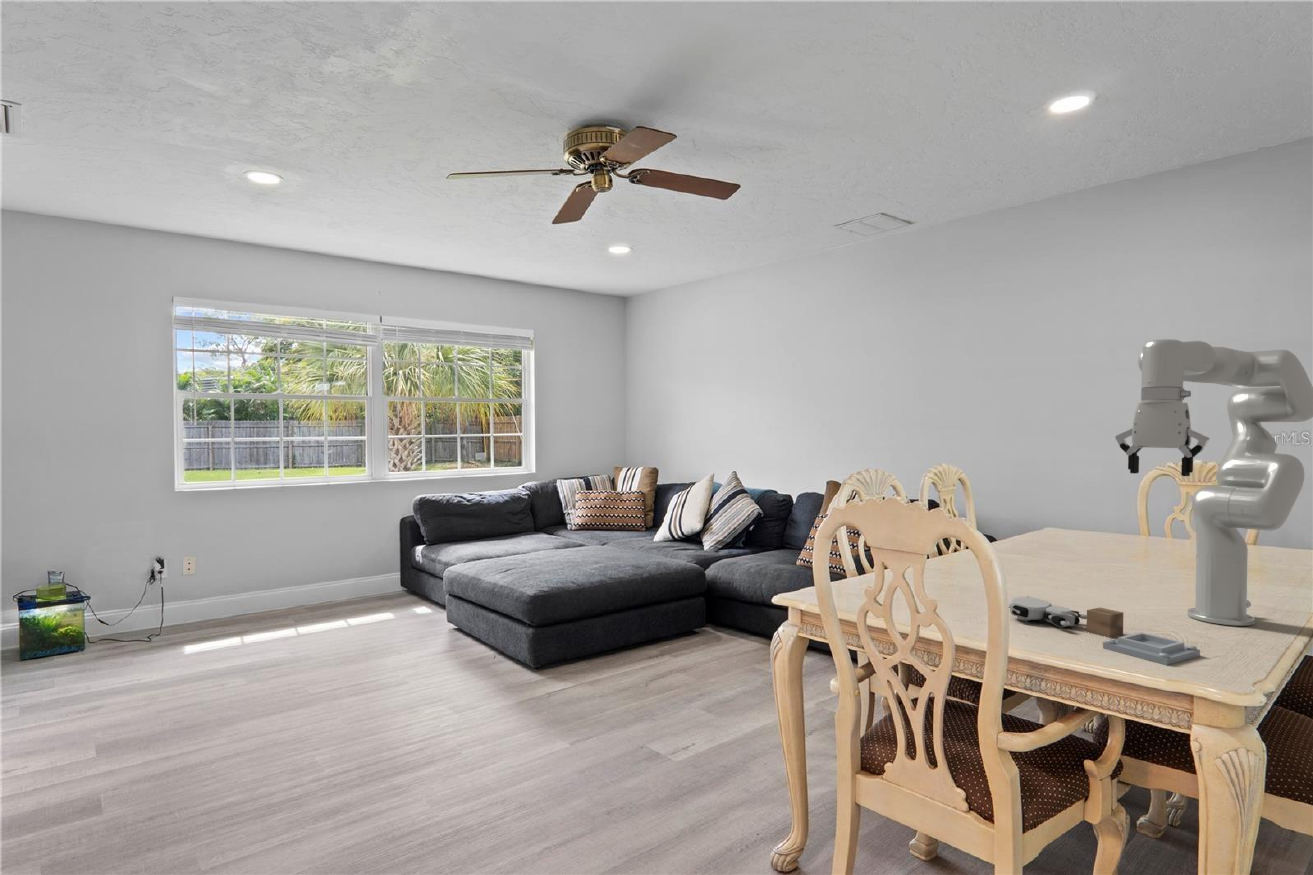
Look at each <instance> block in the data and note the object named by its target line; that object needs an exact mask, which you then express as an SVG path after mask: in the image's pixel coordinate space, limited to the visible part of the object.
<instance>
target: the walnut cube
mask: <svg viewBox="0 0 1313 875" xmlns="http://www.w3.org/2000/svg"><path fill="white" fill-rule="evenodd" d="M1086 615H1087V619H1086V633H1088V632H1089V633H1088V634H1092V635H1095V636H1101V637H1104V636H1105V637H1104V638H1107V639H1111V637H1112V638H1115V636H1116V637H1122V636H1124V612H1123V611H1122V612H1121V611H1118V610H1114V609H1110V608H1105V607H1095V608H1091V609H1087V610H1086Z"/></svg>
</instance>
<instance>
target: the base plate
mask: <svg viewBox="0 0 1313 875" xmlns="http://www.w3.org/2000/svg"><path fill="white" fill-rule="evenodd" d="M1102 648H1103V649H1106V650H1110V651H1113V652H1118V653H1121V654H1123V655H1127V656H1131V657H1136V658H1139V659H1143V660H1146V661H1149V662H1153V663H1157V664H1161V665H1165V666H1168V665H1172V664H1176V663H1179V662H1183V661H1187V660H1190V659H1191V660H1192V659H1194V658H1196V657H1200V656H1201V649H1199V648H1198V647H1197V646H1196V645H1190V644H1189V645H1188V644H1187V645H1186V646H1185V642H1184V641H1180V640H1175V639H1170V638H1167V637H1163V636H1159V635H1155V634H1150V633H1146V632H1141V631H1140V632H1134V633H1131V634H1127V635H1121V636H1117V638H1115V639H1111V638H1106V640H1105V641H1102Z"/></svg>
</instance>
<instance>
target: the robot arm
mask: <svg viewBox="0 0 1313 875" xmlns="http://www.w3.org/2000/svg"><path fill="white" fill-rule="evenodd" d="M1137 362H1138V367H1139V370H1140V371H1141V384H1140V386H1141V388H1140V389H1141V390H1140V391H1141V392H1140V402H1138V403H1136V404H1137V405H1136V408H1135V412H1134V417H1133V421H1132V422H1133V423H1132V424H1133V425H1132V428H1130V429H1129V430H1126V431H1124V432H1121V433H1119V434H1117V435H1115V440H1116V442H1117V444H1118V445H1119V448H1120V449H1121V450H1122V451H1123V452H1124V453H1125V454H1126V456H1127V457H1128V459H1127V460H1128V462H1127V469H1128V470H1129V473H1130V474H1139V472H1140V456H1139V455H1138V453H1139V452H1140V451H1141V450H1142V449H1143V448H1149V449H1151V448H1153V449H1156V448H1157V449H1178V450H1179V451H1180V452H1181V453H1182V455H1183V457H1181V472H1180V473H1181V474H1180V475H1181V476H1182V477H1190V476H1191V473H1193V471H1194V458H1195V457H1196V456H1197V455H1198V454H1199V453H1202V451H1203V450H1204V448H1205V447H1206V446H1207V444H1208V442H1209V441H1210V437H1209V436H1207V435H1204V434H1202V433H1200V432H1198V431H1196V430H1193V429H1192V427H1191V416H1190V408H1189V405H1188V402H1183V401H1185V398H1190V397H1191V395H1192V393H1191V392H1192V391H1191V390H1186V389H1185V388H1184V382H1189V383H1191V382H1192V383H1200V384H1201V383H1202V384H1217V385H1222V386H1229V387H1232V388H1233V387H1234V388H1241V389H1240V390H1239V389H1238V390H1236V391H1234V392H1233V393H1231V395H1230V396H1229V397H1228V400H1227V405H1226V407H1227V408H1226V409H1227V410H1226V411H1227V414H1228V420H1229V423H1230V428H1231V432H1232V440H1231V442H1230V445H1229V446H1228V448H1227V450H1226V452H1225V454H1224V456H1223V457H1222V459H1221V461H1220V463H1219V465H1218V467H1217V469H1216V470H1217V471H1216V473H1215V474H1216V476H1215V477H1216V478H1215V479H1216V482H1217V484H1213V485H1206V486H1203V487H1200V488H1198V489H1197V490H1196V491H1195V492H1194V493H1193V495H1192V499H1191V508H1192V514H1193V517H1194V524H1195V532H1196V536H1195V537H1196V545H1195V546H1196V551H1195V552H1196V553H1195V554H1196V556H1195V559H1196V560H1195V562H1196V563H1195V606H1194V607H1191V608H1189V609H1187V616H1188V617H1190V618H1191V619H1194V620H1198V621H1201V622H1206V623H1211V624H1217V625H1225V626H1236V627H1245V626H1253V625H1255V623H1256V618H1255V617H1254V616H1252V615H1249V614H1247V609H1249V608H1251V606H1252V603H1251V601H1250V600H1248V595H1247V594H1248V554H1249V552H1248V545H1247V542H1246V541H1245V538H1244V537H1243V535H1242V534H1241V533H1240V532H1239V530H1238V529H1248V530H1253V531H1254V530H1255V531H1268V532H1269V531H1276V530H1279V529H1281V527H1282V526H1283V525H1284V524H1285V523H1286V521H1287V519H1288V518H1289V516H1290V513H1291V511H1292V509H1293V507H1294V505H1295V503H1296V500H1297V498H1298V497H1299V495H1300V493H1301V490H1302V488H1303V485H1304V480H1305V468H1304V465H1303V463H1302V461H1300V459H1299V458H1297V457H1296V456H1294V455H1291V454H1288V453H1276V450H1277V445H1278V444H1277V442H1276V440H1275V438H1274V436H1273V435H1272V434H1271V433H1270V431H1268V430H1267V429H1266V428H1265V427H1263V425H1262V423H1300V422H1307V421H1309V420H1310V419H1312V418H1313V384H1312V383H1311V381H1310V378H1309V376H1308V374H1307V371H1306V370H1305V368H1304V366H1303V364H1302V362H1301V361H1300V359H1299V358H1298V357H1297V356H1296V355H1295V354H1294V353H1293V352H1291V351H1290V350H1288V349H1273V350H1272V349H1271V350H1270V349H1269V350H1259V351H1243V350H1239V349H1234V348H1229V347H1225V346H1212V345H1211V344H1210V343H1208V342H1206V341H1201V340H1191V341H1181V340H1179V339H1172V338H1171V339H1167V338H1165V339H1153V340H1148V341H1147V342H1145V343H1144V344H1143V345H1142V351H1140V353H1139V355H1138V360H1137ZM1129 437H1131V443H1132V445H1129V444H1128V443H1127V441H1126V439H1127V438H1129ZM1192 438H1194V439H1196V441H1197V443H1196V445H1195V446H1193V447H1192V448H1191V447H1190V446H1191V444H1192Z"/></svg>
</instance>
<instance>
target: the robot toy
mask: <svg viewBox="0 0 1313 875" xmlns="http://www.w3.org/2000/svg"><path fill="white" fill-rule="evenodd" d="M1008 606H1009V607H1008V609H1009V608H1010V612H1009V613H1010V614H1011V615H1012V616H1014V617H1017V619H1018V620H1020V621H1022V622H1030V621H1031V620H1032V621H1038V620H1039V621H1041V620H1045V621H1046V622H1047V623H1049V624H1051V625H1054V626H1055V627H1058V628H1066V627H1069V626H1070V627H1074V626H1077V625H1079V623H1080V622H1081V620H1080V619H1082V620H1087V614H1084V613H1080V611H1077V610H1072V609H1071V608H1067V607H1064V606H1061V605H1060V606H1059V605H1056V604H1055V605H1053V604H1052V603H1051V602H1050V601H1048V600H1044V599H1042V598H1041V599H1040V598H1036V597H1032V596H1029V595H1028V596H1019V597H1014V598H1013V599H1011V600H1009V602H1008Z"/></svg>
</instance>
